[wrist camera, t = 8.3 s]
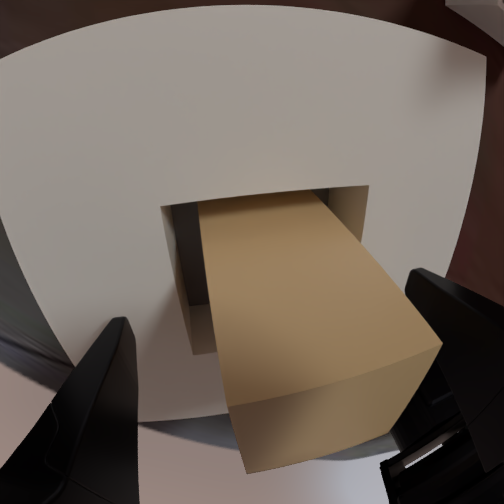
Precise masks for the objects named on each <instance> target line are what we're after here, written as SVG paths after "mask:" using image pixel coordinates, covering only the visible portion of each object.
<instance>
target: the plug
mask: <svg viewBox="0 0 504 504" xmlns="http://www.w3.org/2000/svg"><path fill="white" fill-rule="evenodd" d="M197 204H198V213H199V222H200V231H201V239H202V247H203V255H204V263H205V271H206V278H207V286H208V293H209V300H210V307H211V313H212V320H213V327H214V333H215V340H216V346H217V352H218V358H219V364H220V370H221V376H222V381H223V387H224V393H225V398H226V404H227V408H228V412H229V416H230V419H231V423H232V426H233V430H234V433H235V437H236V440H237V443H238V447H239V450H240V453H241V457H242V460H243V463H244V467H245V470H246V473H247V474H251V473H256V472H261V471H265V470H271V469H275V468H280V467H284V466H288V465H292V464H296V463H300V462H304V461H308V460H311V459H315V458H318V457H322V456H325V455H328V454H331V453H335V452H338V451H341V450H344V449H347V448H350V447H352V446H355V445H358V444H361V443H363V442H366V441H369V440H371V439H374V438H377V437H379V436H382V435H384V434H386V433H388V432H389V431H390V429H391V428H392V426H393V425H394V424H395V422H396V421H397V419H398V418H399V416H400V415H401V414H402V412H403V411H404V409H405V408H406V406H407V404H408V403H409V401H410V400H411V398H412V397H413V395H414V393H415V392H416V390H417V389H418V387H419V385H420V384H421V382H422V380H423V379H424V377H425V375H426V374H427V372H428V370H429V368H430V367H431V365H432V363H433V361H434V359H435V357H436V356H437V354H438V352H439V350H440V348H441V346H442V344H443V343H442V342H441V340H440V339H439V338H438V336H437V335H436V334H435V332H434V331H433V330H432V328H431V327H430V326H429V324H428V323H427V322H426V321H425V319H424V318H423V317H422V315H421V314H420V313H419V312H418V310H417V309H416V308H415V307H414V305H413V304H412V303H411V302H410V300H409V299H408V298H407V297H406V295H405V294H404V293H403V292H402V291H401V289H400V288H399V287H398V286H397V285H396V283H395V282H394V281H393V280H392V279H391V277H390V276H389V275H388V274H387V273H386V272H385V270H384V269H383V268H382V267H381V266H380V265H379V263H378V262H377V261H376V260H375V259H374V258H373V257H372V255H371V254H370V253H369V252H368V251H367V250H366V249H365V247H364V246H363V245H362V244H361V243H360V242H359V241H358V240H357V239H356V237H355V236H354V235H353V234H352V233H351V232H350V231H349V230H348V229H347V228H346V227H345V225H344V224H343V223H342V222H341V221H340V220H339V219H338V218H337V217H336V216H335V215H334V214H333V213H332V212H331V211H330V209H329V208H328V207H327V206H326V205H325V204H324V203H323V202H322V201H321V200H320V199H319V198H318V197H317V196H316V195H315V194H314V193H313V192H312V191H311V190H310V189H306V190H295V191H284V192H273V193H263V194H254V195H244V196H235V197H227V198H218V199H210V200H202V201H197Z"/></svg>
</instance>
